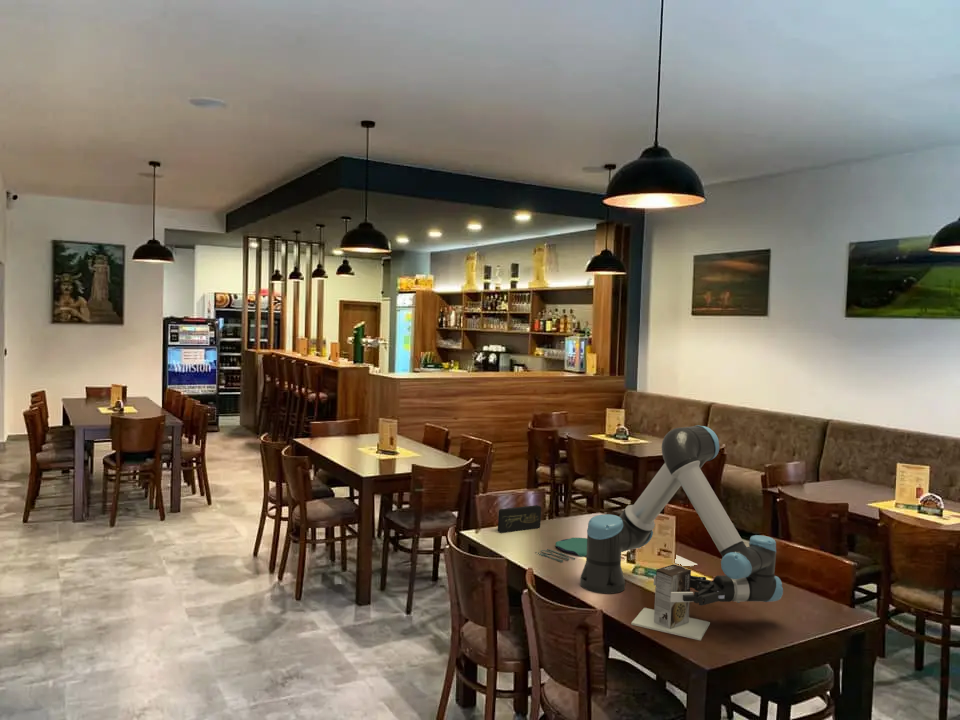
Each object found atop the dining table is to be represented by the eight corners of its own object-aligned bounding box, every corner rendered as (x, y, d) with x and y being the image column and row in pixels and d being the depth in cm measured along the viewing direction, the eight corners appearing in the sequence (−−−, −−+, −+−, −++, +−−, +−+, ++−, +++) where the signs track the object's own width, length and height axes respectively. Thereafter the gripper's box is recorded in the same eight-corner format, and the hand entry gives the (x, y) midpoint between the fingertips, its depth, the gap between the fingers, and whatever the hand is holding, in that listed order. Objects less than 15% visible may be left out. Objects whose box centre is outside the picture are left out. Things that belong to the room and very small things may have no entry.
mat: (631, 624, 214) (631, 622, 214) (644, 609, 226) (644, 607, 226) (700, 640, 205) (700, 638, 205) (709, 623, 217) (709, 622, 217)
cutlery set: (616, 551, 287) (616, 546, 287) (564, 566, 268) (564, 560, 268) (579, 540, 302) (579, 534, 302) (527, 553, 283) (527, 547, 283)
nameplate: (500, 533, 306) (501, 510, 306) (497, 532, 308) (498, 509, 307) (540, 528, 317) (541, 505, 316) (537, 527, 318) (538, 504, 318)
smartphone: (683, 566, 271) (657, 554, 284) (683, 568, 271) (657, 556, 284) (698, 564, 274) (671, 552, 287) (698, 566, 274) (671, 554, 287)
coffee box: (671, 615, 221) (674, 563, 220) (689, 622, 216) (692, 569, 215) (652, 622, 215) (655, 568, 215) (670, 629, 210) (673, 574, 210)
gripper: (749, 617, 205) (678, 617, 203) (711, 586, 230) (646, 586, 227) (751, 591, 205) (679, 591, 202) (712, 562, 230) (648, 562, 227)
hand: (662, 588), depth 215 cm, fingers open, 13 cm apart
